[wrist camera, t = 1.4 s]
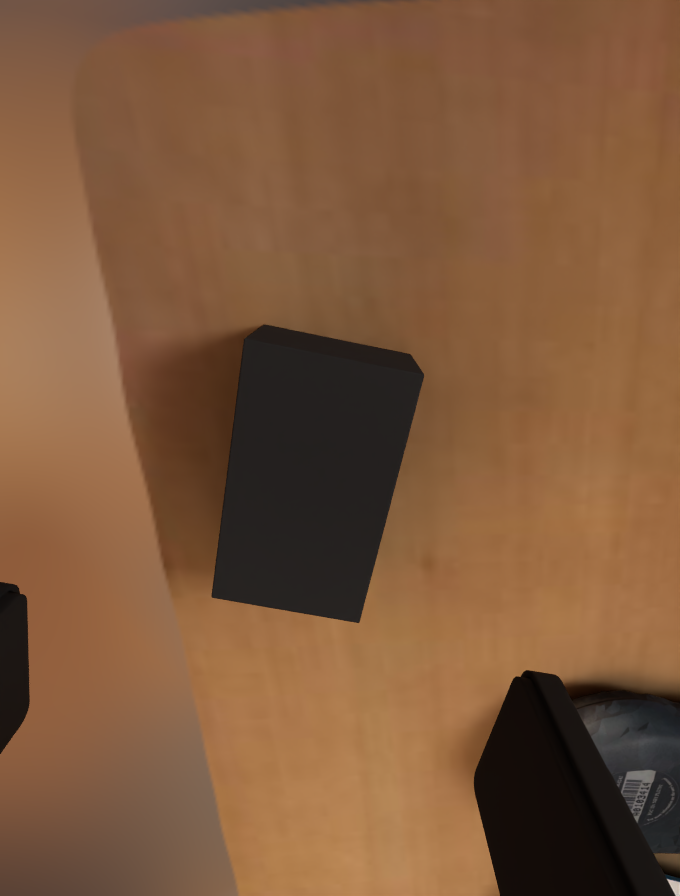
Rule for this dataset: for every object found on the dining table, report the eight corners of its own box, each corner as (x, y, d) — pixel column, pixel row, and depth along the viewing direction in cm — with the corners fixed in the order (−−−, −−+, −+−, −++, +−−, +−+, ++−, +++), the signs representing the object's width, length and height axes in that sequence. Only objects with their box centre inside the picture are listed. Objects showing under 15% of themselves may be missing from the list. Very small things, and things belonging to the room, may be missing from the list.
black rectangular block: (263, 324, 18) (243, 338, 14) (411, 354, 18) (424, 374, 15) (232, 546, 21) (211, 597, 18) (357, 568, 21) (359, 623, 18)
